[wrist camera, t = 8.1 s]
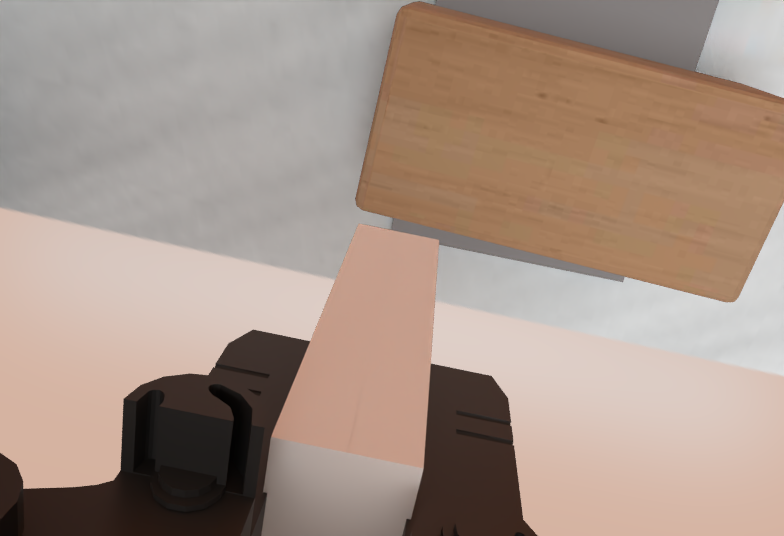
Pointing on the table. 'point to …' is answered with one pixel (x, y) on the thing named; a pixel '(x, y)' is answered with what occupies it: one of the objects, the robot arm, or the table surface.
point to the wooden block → (574, 152)
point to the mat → (597, 28)
